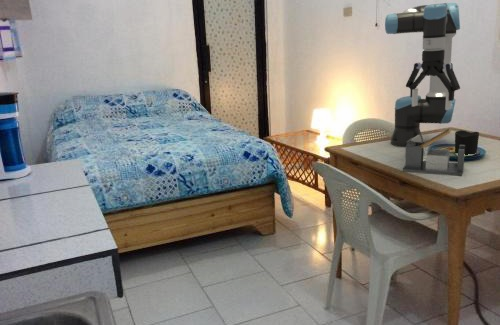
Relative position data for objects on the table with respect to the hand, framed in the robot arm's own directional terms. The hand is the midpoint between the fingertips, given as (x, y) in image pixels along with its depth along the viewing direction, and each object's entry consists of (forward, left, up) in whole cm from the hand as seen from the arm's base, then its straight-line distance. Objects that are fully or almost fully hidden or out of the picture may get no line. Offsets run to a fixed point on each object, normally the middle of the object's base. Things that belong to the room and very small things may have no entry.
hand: (430, 107), depth 165 cm
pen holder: (-32, +12, -27) cm, 44 cm away
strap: (-9, +1, -16) cm, 18 cm away
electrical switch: (-25, -8, -27) cm, 38 cm away
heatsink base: (-9, +1, -27) cm, 29 cm away
